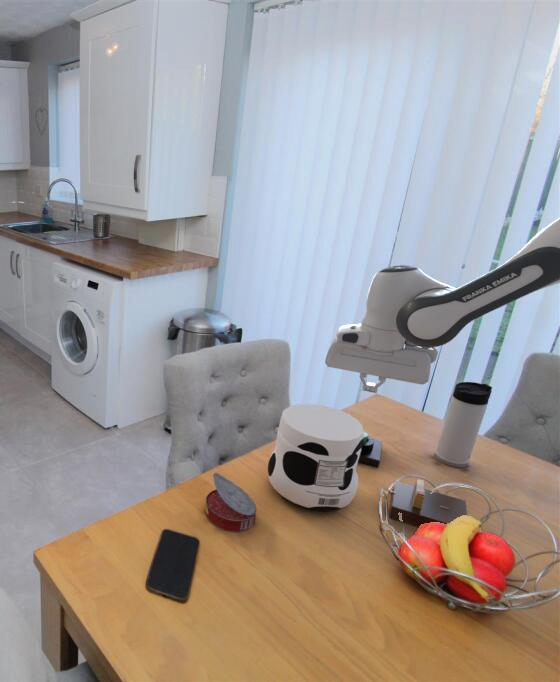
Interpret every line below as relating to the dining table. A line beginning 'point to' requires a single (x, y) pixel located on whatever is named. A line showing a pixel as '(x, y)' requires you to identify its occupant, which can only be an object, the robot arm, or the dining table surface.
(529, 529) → the dining table surface
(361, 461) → the alarm box
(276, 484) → the milk container
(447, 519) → the lock plate
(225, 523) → the canned food
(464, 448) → the travel mug
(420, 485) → the lock knob
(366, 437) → the alarm button
